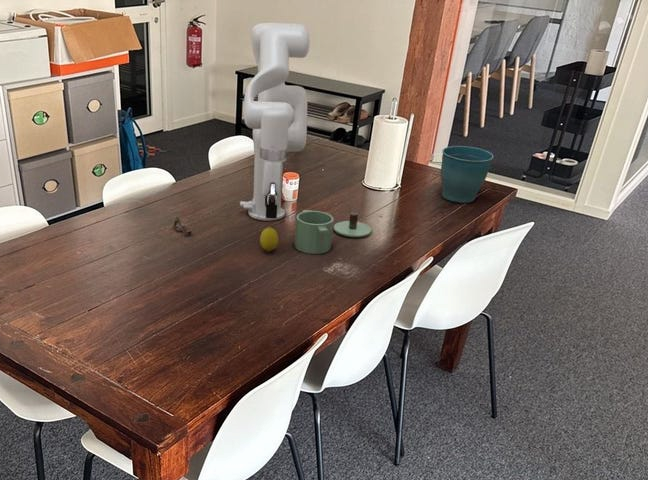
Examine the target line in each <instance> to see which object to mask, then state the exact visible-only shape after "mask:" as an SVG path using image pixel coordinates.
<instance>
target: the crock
mask: <svg viewBox="0 0 648 480" xmlns="http://www.w3.org/2000/svg"><path fill="white" fill-rule="evenodd" d="M334 218H335V217H334V216H332V214H329V213H327V212H324V211H318V210H310V209H303V210H302V211H301V212H299V213H298V214H296V217H295V233H294V248H295V249H296V250H298V251H299V252H301V253H305V254H312V255H319V254H324V253H325V254H326V253H327V252H329V251H330V250H331V248H332V240H333V231H334Z"/></svg>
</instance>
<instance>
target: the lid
mask: <svg viewBox="0 0 648 480" xmlns="http://www.w3.org/2000/svg"><path fill="white" fill-rule="evenodd" d="M358 220H359V213H358V212H355V211H353V212H350V214H349V220H344V221H343V220H342V221H339V222H337V223H335V224H333V231H334V232H335V233H336V234H338V235H340V236H344V237H347V238H348V237H349V238H363V237H366V236H369V235H370V234H371V233H372V228H371V226H370V225H368V224H367V223H364V222H360V221H358Z"/></svg>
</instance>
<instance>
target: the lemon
mask: <svg viewBox="0 0 648 480" xmlns="http://www.w3.org/2000/svg"><path fill="white" fill-rule="evenodd" d="M259 242H260V246H261V248H262V249H263V250H265V251H266V252H268V253H269V252H271V251H273V250H275V249H276V248H277V247H278V243H279V234H278V232H277V230H275V229H274V228H273V227H271V226H268V227H265V228H264V229H263V230H262V231H261V233H260V237H259Z"/></svg>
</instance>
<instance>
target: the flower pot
mask: <svg viewBox="0 0 648 480" xmlns="http://www.w3.org/2000/svg"><path fill="white" fill-rule="evenodd" d="M494 158H495V157H494V155H493V153H492V152H490V151H488V150H485V149H483V148H478V147H473V146H466V145H451V146H447V147H444V148H443V149H442V155H441V165H440V166H441V167H440V181H441V188H442V193H441V196H442V198H443V199H445V200H446V201H449V202H453V203H460V204H469V203H472V202H474V201H475V200H476V197H477V195H478V193H479V191H480V190H481V188H482V186H483V185H484V183H485V181H486V179H487V177H488V173H489V170H490V167H491V166H492V162H493V159H494Z"/></svg>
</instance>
